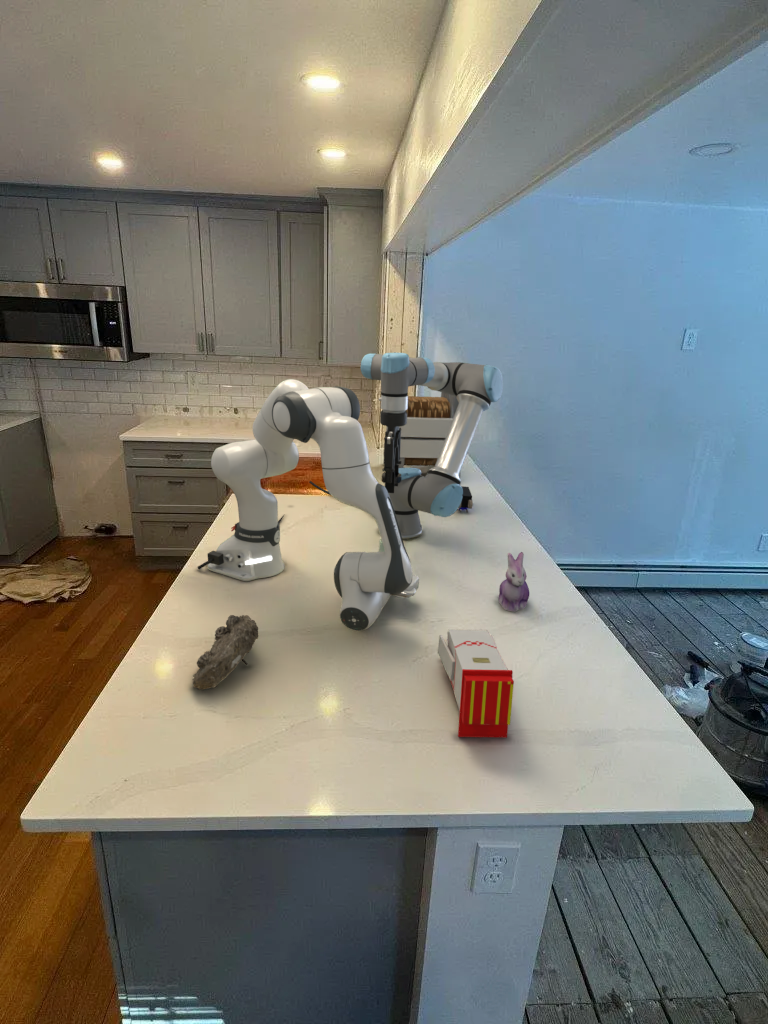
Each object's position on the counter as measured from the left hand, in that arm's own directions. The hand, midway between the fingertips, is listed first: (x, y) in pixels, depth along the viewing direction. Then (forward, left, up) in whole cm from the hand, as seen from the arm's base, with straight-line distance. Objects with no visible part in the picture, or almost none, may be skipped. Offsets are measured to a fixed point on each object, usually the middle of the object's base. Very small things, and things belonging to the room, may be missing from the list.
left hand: (388, 568), depth 158 cm
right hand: (-4, +15, +18) cm, 24 cm away
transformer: (-18, +121, -6) cm, 123 cm away
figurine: (+35, +3, -6) cm, 36 cm away
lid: (-4, +15, +22) cm, 27 cm away
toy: (+29, -38, -6) cm, 48 cm away
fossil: (-23, -46, -6) cm, 52 cm away
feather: (-51, +40, -6) cm, 65 cm away
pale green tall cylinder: (0, -1, -6) cm, 6 cm away
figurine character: (+10, +77, -6) cm, 78 cm away
